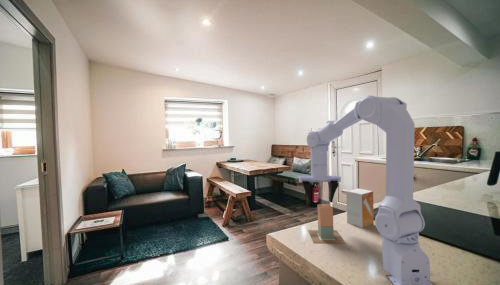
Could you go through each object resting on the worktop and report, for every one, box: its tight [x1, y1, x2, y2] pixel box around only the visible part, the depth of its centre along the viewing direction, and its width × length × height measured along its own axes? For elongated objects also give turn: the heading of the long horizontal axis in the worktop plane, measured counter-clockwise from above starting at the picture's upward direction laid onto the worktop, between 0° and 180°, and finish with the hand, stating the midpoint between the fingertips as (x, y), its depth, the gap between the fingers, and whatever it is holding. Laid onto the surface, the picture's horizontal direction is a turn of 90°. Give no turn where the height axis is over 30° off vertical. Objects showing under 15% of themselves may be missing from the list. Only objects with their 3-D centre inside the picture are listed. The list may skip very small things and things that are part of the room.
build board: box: [307, 229, 347, 245], centre depth 71 cm, size 10×10×1 cm
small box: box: [345, 188, 375, 229], centre depth 82 cm, size 8×6×13 cm
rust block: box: [316, 203, 334, 228], centre depth 71 cm, size 4×4×6 cm
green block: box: [317, 222, 334, 239], centre depth 71 cm, size 4×4×4 cm
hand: (319, 201), depth 78 cm, fingers open, 7 cm apart
